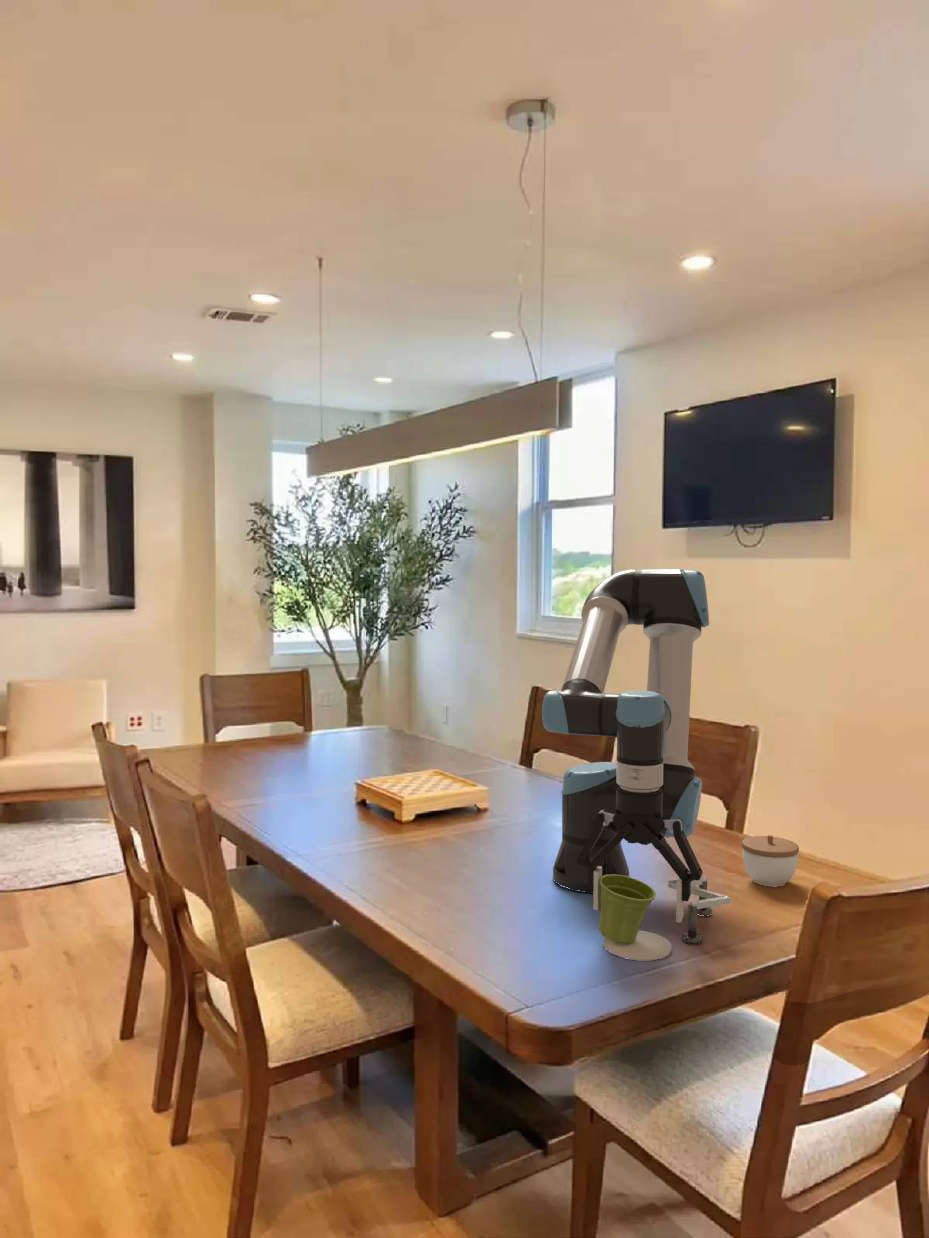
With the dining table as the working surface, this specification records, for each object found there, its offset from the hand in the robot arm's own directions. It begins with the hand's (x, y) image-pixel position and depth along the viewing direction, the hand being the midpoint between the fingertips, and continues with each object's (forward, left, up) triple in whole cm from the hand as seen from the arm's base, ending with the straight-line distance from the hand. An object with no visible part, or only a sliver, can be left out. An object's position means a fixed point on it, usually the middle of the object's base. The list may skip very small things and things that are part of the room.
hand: (637, 913), depth 150 cm
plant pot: (-4, 0, -4) cm, 6 cm away
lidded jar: (+18, +41, -6) cm, 45 cm away
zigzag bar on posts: (+8, +12, -6) cm, 16 cm away
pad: (0, 0, -6) cm, 6 cm away
